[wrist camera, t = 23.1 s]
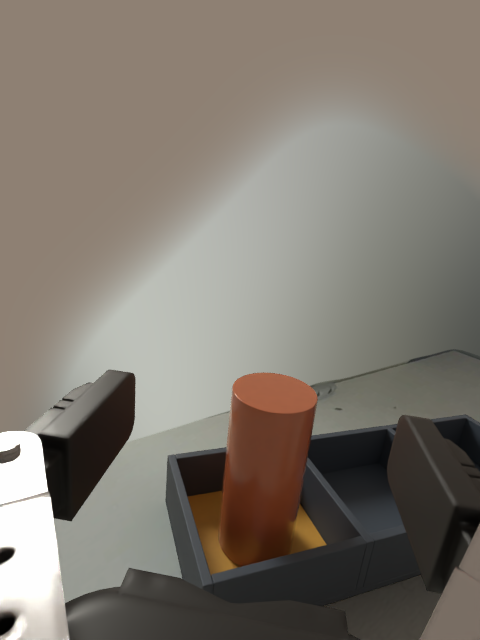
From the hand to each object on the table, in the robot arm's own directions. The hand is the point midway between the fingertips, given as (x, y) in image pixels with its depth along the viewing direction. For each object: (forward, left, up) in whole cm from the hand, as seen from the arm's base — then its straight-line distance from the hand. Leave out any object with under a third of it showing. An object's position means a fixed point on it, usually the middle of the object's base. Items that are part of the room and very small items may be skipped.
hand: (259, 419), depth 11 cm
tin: (+6, +11, -17) cm, 21 cm away
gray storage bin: (+17, +11, -18) cm, 27 cm away
